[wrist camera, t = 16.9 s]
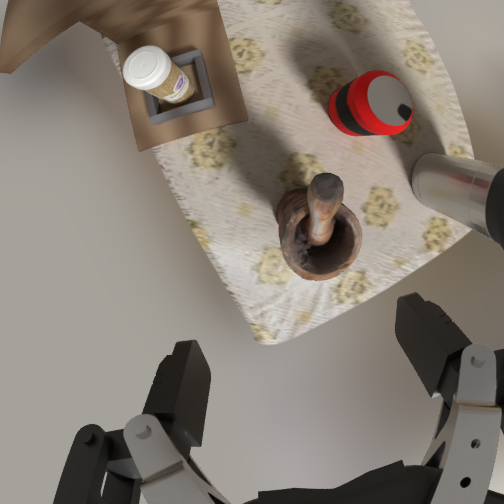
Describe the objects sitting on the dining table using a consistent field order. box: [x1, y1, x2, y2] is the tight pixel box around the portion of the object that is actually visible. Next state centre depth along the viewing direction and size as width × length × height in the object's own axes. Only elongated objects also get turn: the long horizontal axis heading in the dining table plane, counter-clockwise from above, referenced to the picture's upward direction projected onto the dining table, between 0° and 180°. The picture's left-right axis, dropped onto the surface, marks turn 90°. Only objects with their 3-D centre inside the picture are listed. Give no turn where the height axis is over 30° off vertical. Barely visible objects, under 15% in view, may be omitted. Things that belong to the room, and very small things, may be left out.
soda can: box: [329, 70, 413, 136], centre depth 27 cm, size 8×8×12 cm
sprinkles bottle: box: [123, 45, 194, 105], centre depth 25 cm, size 5×5×14 cm
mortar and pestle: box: [276, 173, 362, 281], centre depth 29 cm, size 12×9×20 cm
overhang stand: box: [0, 0, 248, 152], centre depth 19 cm, size 16×21×26 cm
